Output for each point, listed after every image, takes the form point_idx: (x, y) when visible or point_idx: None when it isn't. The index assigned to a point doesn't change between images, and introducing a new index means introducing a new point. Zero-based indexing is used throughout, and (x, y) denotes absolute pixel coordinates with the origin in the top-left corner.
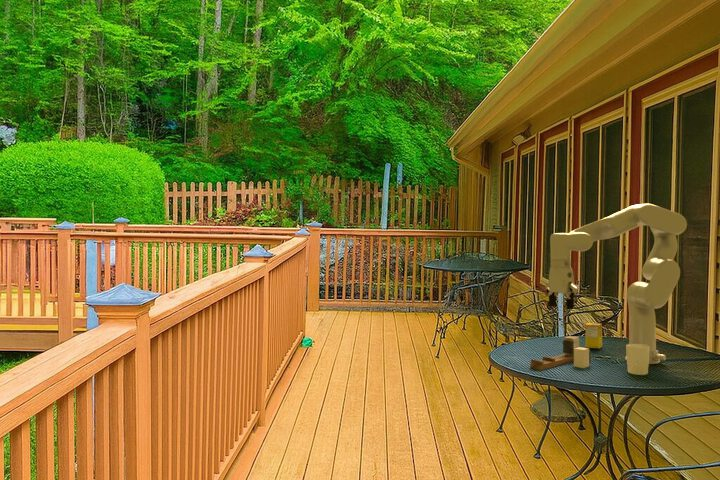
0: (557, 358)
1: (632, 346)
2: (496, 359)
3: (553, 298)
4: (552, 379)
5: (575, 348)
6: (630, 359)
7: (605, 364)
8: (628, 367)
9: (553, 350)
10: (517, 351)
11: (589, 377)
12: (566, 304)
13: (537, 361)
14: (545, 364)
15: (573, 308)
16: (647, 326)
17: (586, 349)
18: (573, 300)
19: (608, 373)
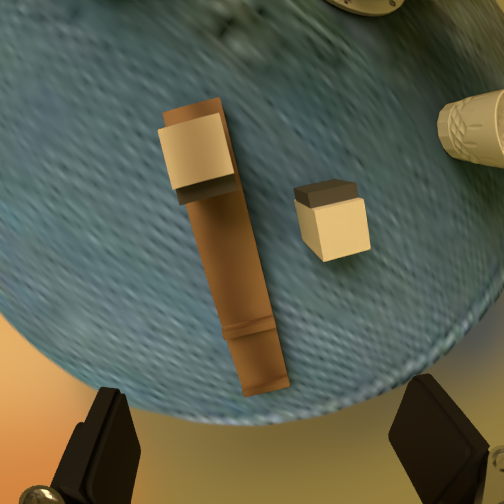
0: (235, 270)
1: (491, 108)
2: None
3: (111, 495)
4: (372, 396)
5: (329, 256)
6: (488, 165)
7: (338, 106)
8: (459, 155)
9: (41, 110)
10: (10, 253)
11: (420, 303)
12: (408, 468)
13: (270, 389)
14: (284, 363)
15: (427, 375)
16: None
17: (366, 222)
18: (475, 431)
19: (426, 215)
